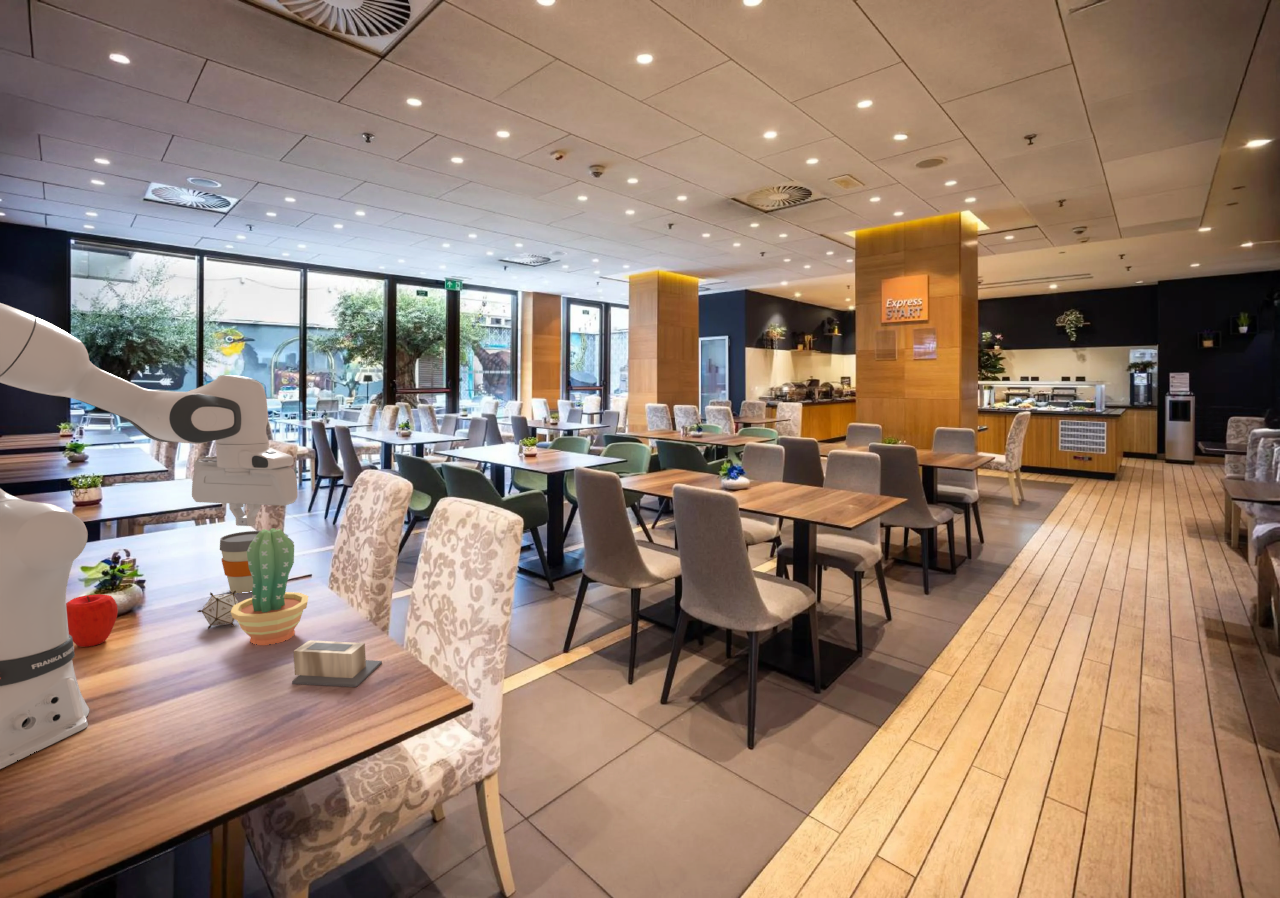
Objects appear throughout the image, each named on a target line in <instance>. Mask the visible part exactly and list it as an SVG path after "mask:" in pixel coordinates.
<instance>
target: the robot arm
mask: <svg viewBox="0 0 1280 898" xmlns="http://www.w3.org/2000/svg"><path fill="white" fill-rule="evenodd" d="M0 383H1V384H4V385H7V386H9V387H14V388H17V389H21V390H25V391H29V392H32V393H37V394H42V395H49V396H55V397H62V398H63V397H65V398H69V399H73V400H77V401H79V402H83V403H84V404H87V405H90V406H93V407H95V408H97V409H100V410H102V411H106V412H108V413H111V414H113V415H115V416H118V417H121V418H122V419H125V420H126V421H127V422H129V423H130V424H131V425H132V426H134V427H135V429H137V430H138V431H139V432H140V433H141V434H143V435H144V436H145V437H147V438H148V439H151V440H154V441H156V442H161V443H182V444H191V445H195V444H196V445H200V444H205V443H209V442H213V441H214V442H215V451H216V455H215V456H209V455H203V456H200V457H199V458H198V459H197V460H195V462H194V464H193V469H194V471H193V477H192V485H191V497H192V499H193V500H194V502H196V503H210V504H211V503H212V504H228V506H229V510H230V512H231V513H232V515H233V517H235V525H236V526H238V527H239V526H240V527H242V526H243V527H253V526H255V525H256V522H257V521H256V517H257V515H258V513H259V512H260V510H261V507H262V506H261V505H265V506H282V507H283V506H284V507H285V506H288V505H292V504H294V502H296V500H297V499H298V479H297V476H296V475H297V474H296V472H295V470H294V469H293V468H292V467H291V466H293V465H294V464H295V463H294V457H293V455H291V454H289V453H285V452H283V451H280V450H278V449H275V448H274V447H270V443H269V442H270V440H269V437H268V434H267V426H268V422H269V415H268V414H269V412H268V403H267V401H268V400H267V395H266V391H265V388H264V386H263V384H262V383H261V382H260V381H258V380H257V379H254V378H253V377H252V378H251V377H248V376H242V375H234V374H222V375H220V374H219V376H217V377H216V378H215V379H214V380H212V381H210V382H208V383H206V384H204V385H201V386H199V387H197V388H193V389H190V390H189V391H175V390H167V389H148V388H144V387H141V386H139V385H137V384H135V383H133V382H130V381H128V380H125V379H123V378H121V377H118V376H117V375H114V374H112V373H109V372H107V371H105V370H103V369H101V368H99V367H97V365H95V364H93V363H92V361H90V356H89V353H88V350H87V348H86V346H85V344H84V343H83V342H82V341H81V340H80V339H78V338H77V337H75V336H73V335H72V334H70V333H68V332H67V331H65V330H64V329H61V328H60V327H58V326H56V325H54V324H53V323H50V322H48V321H46V320H44V319H41V318H39V317H36V316H35V315H33V314H30V313H27V312H25V311H23V310H20V309H18V308H15V307H12V306H10V305H8V304H4V303H1V302H0ZM244 505H246V510H248V512H247V514H245V513H244V511H243V508H244ZM88 535H89V534H88V529H87V527H86V525H85V523H84V521H83V520H82V519H81V518H80V517H79V516H77V515H76V514H73V513H71V511H68V510H67V509H65V508H62V507H60V506H58V505H55V504H51V503H47V502H46V503H44V502H37V501H31V500H25V499H22V498H19V497H17V496H14V495H12V494H10V493H8V492H6V491H4V490H3V489H2V488H0V770H1V769H4V768H5V767H8V766H10V765H12V764H14V763H16V762H18V761H19V760H22V759H24V758H26V757H28V756H30V754H31V755H34V752H35V753H37V752H38V751H41V750H43V749H45V748H47V747H49V746H52V745H54V744H56V743H58V742H60V741H61V740H64V739H66V738H68V737H70V736H72V735H75V734H77V733H78V732H80V731H83V730H84V729H86V728H87V727H88V726H89V723H88V720H87V716H88V715H89V713H90V708H89V705H87V703H86V701H85V698H84V697H83V694H82V691H81V689H80V686H79V684H78V679H77V675H76V672H75V668H74V664H73V663H74V662H73V659H74V657H75V647H74V642H73V639H72V636H71V635H69V631H68V620H67V607H66V603H67V590H68V589H67V588H68V582H69V578H70V575H71V574H70V573H71V570H72V566H73V563H74V561H75V560H76V559H77V558H78V557H79V556H80V555H81V554H82V552H83V551H84V550H85V547H86V545H87V542H88ZM36 751H37V752H36ZM17 760H18V761H17Z"/></svg>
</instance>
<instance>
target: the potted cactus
mask: <svg viewBox="0 0 1280 898" xmlns="http://www.w3.org/2000/svg"><path fill="white" fill-rule="evenodd" d="M259 531H260V532H259V533H258V534H257V536H256V537H255V538H254V539H253V541H252V542H251V543H250V545H249V548H248V550H247V558H248V566H249V570H250V573H251V575H252V578H253V591H252V595H251V596H252V597H249V598H246V599H244V600H242V601H240V602H239V603H238V604H236V605H234V606H233V608H232V610H231V615H232V617H233V618H234V619H235V620H236V622H238V625H239V626H240V629H241V631H243V632H244V633H245V634H246V635H247V636H249V639H250V640H249V643H250V642H251V643H250V644H252V643H253V644H252V645H254V644H255V645H254V646H270V645H269V644H271V645H276V644H275V643H277V644H281V643H283V642H286V641H288V640H290V639H292V638H293V637H295V634H296V630H295V629H296V628H297V626H298V624H299V623H300V621H301V618H302V616H303V612H304V610H305V609H307V607H308V601H309V595H307V594H305V593H302V592H293V591H292V592H291V591H286V590H287V585H288V579H289V575H290V572H291V570H292V568H293V565H294V563H295V544H294V543H295V542H294V541H293V540H292V539H291V538H290V537H289V534H287V533H285V532H284V531H283V530H282V528H278V529H276V528H275V527H274V528H270V529H269V530H268V529H265V528H264V529H263V528H262V530H259ZM292 636H293V637H292ZM285 640H286V641H285ZM256 644H257V645H256Z"/></svg>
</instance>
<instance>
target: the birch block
mask: <svg viewBox="0 0 1280 898" xmlns="http://www.w3.org/2000/svg"><path fill="white" fill-rule="evenodd" d="M366 660H367V658H366V643H365V642H351V641H349V642H348V641H331V640H330V641H329V640H328V641H327V640H311V639H310V640H307V641H306V642H304V643H302V645H300V646H299V647H297V648H296V649H294V650H293V665H294V676H300V675H305V676H322V677H340V678H353V677H354V676H355V675H357V674H358V673H359V672H360V671H361V670H362V669H363V668H365V667H366Z"/></svg>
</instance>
